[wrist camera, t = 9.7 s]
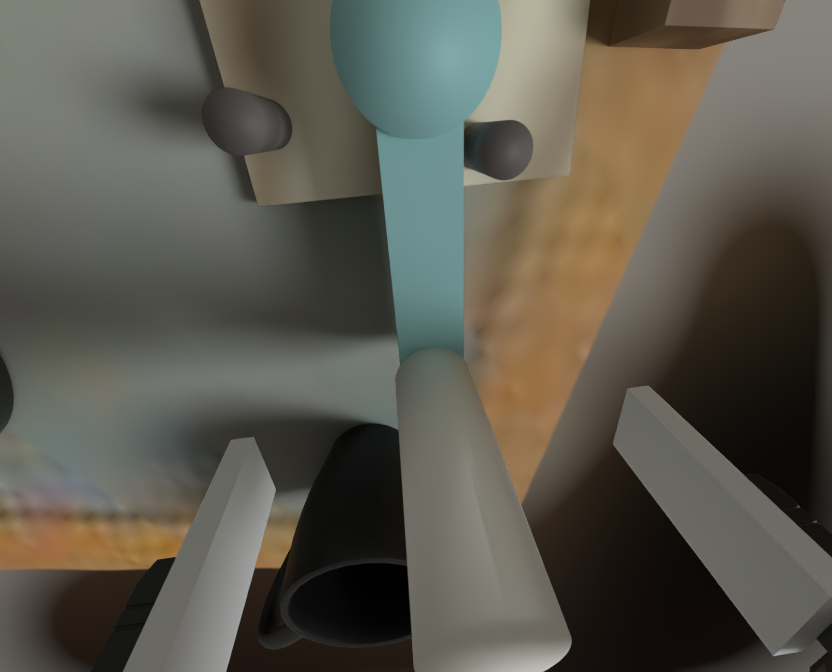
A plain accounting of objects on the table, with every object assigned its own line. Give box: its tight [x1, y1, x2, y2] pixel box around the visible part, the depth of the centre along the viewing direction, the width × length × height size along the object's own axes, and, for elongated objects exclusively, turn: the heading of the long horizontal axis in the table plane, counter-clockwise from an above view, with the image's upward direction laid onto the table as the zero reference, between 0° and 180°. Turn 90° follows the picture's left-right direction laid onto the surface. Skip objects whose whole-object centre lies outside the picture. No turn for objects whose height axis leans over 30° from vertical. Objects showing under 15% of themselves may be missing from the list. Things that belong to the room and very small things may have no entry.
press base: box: [200, 0, 590, 207], centre depth 12 cm, size 14×11×5 cm
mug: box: [257, 424, 412, 649], centre depth 22 cm, size 8×12×10 cm
